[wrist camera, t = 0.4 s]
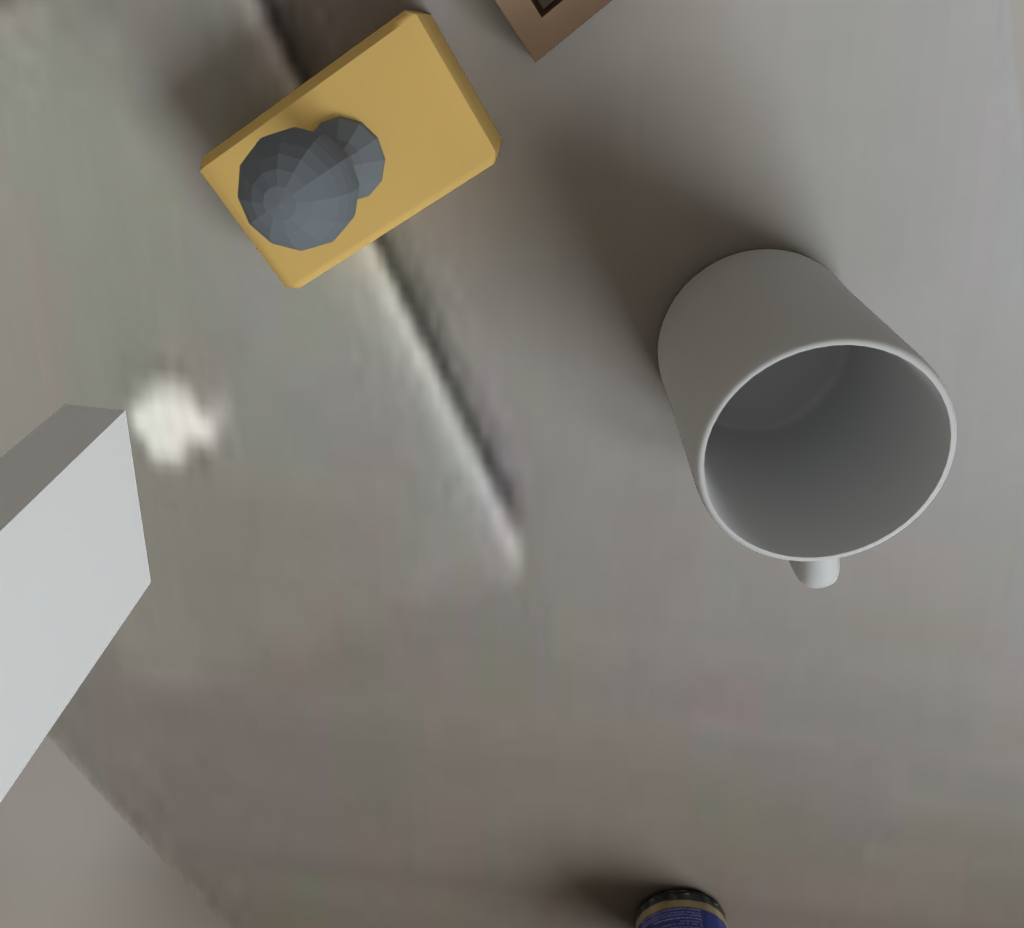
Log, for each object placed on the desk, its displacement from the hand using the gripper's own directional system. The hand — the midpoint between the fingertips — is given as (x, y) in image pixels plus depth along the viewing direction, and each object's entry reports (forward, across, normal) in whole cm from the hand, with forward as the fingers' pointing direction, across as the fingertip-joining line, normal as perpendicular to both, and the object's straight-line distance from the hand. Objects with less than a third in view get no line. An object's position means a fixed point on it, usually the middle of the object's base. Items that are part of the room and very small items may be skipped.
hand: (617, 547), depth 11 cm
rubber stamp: (+26, -8, 0) cm, 28 cm away
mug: (+26, +10, -8) cm, 29 cm away
